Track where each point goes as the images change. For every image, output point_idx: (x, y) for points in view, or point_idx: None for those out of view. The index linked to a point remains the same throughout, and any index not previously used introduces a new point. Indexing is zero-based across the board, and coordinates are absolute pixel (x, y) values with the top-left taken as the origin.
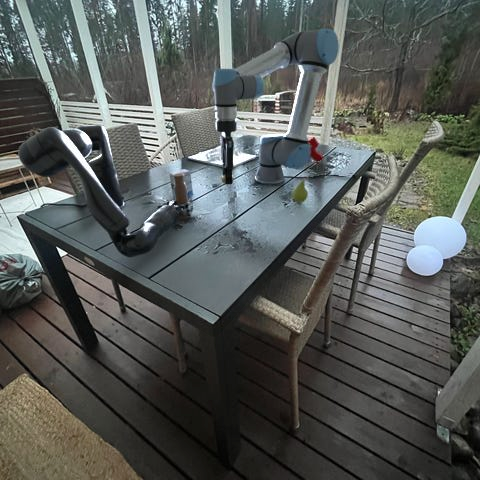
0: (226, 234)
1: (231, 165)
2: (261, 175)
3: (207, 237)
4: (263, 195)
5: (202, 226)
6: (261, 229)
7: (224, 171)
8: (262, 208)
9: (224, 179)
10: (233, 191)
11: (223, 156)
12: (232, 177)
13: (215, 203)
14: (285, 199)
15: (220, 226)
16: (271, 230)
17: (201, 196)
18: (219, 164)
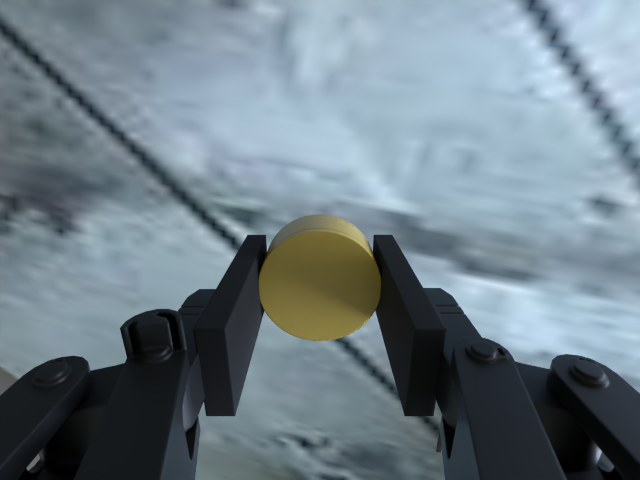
0: (39, 133)
1: (42, 460)
2: (608, 465)
3: (3, 20)
4: None
5: (129, 5)
6: (88, 298)
7: (388, 290)
8: (288, 353)
9: (273, 245)
10: (544, 272)
11: (472, 470)
12: (282, 329)
13: (418, 137)
14: (353, 457)
15: (123, 116)
16: (79, 331)
17: (565, 55)
18: None
